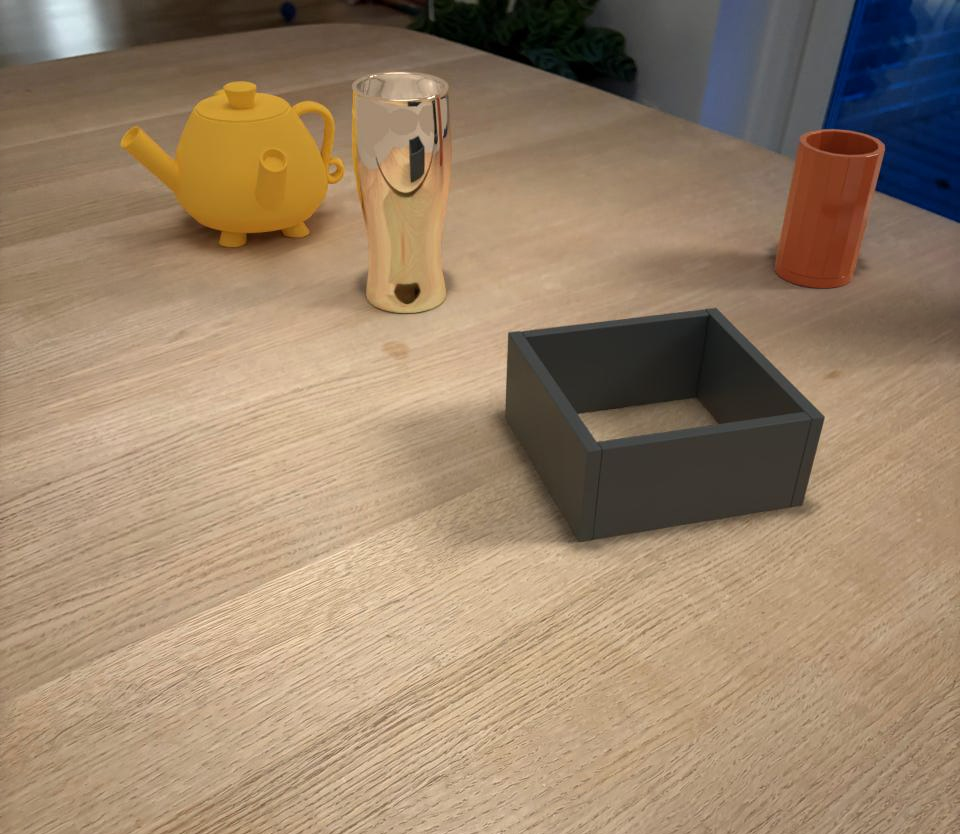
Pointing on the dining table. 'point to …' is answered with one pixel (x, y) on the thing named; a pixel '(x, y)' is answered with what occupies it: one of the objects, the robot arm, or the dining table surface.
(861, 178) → the tumbler
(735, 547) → the dining table surface
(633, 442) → the open box
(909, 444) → the dining table surface
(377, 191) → the beer glass
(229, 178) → the teapot
